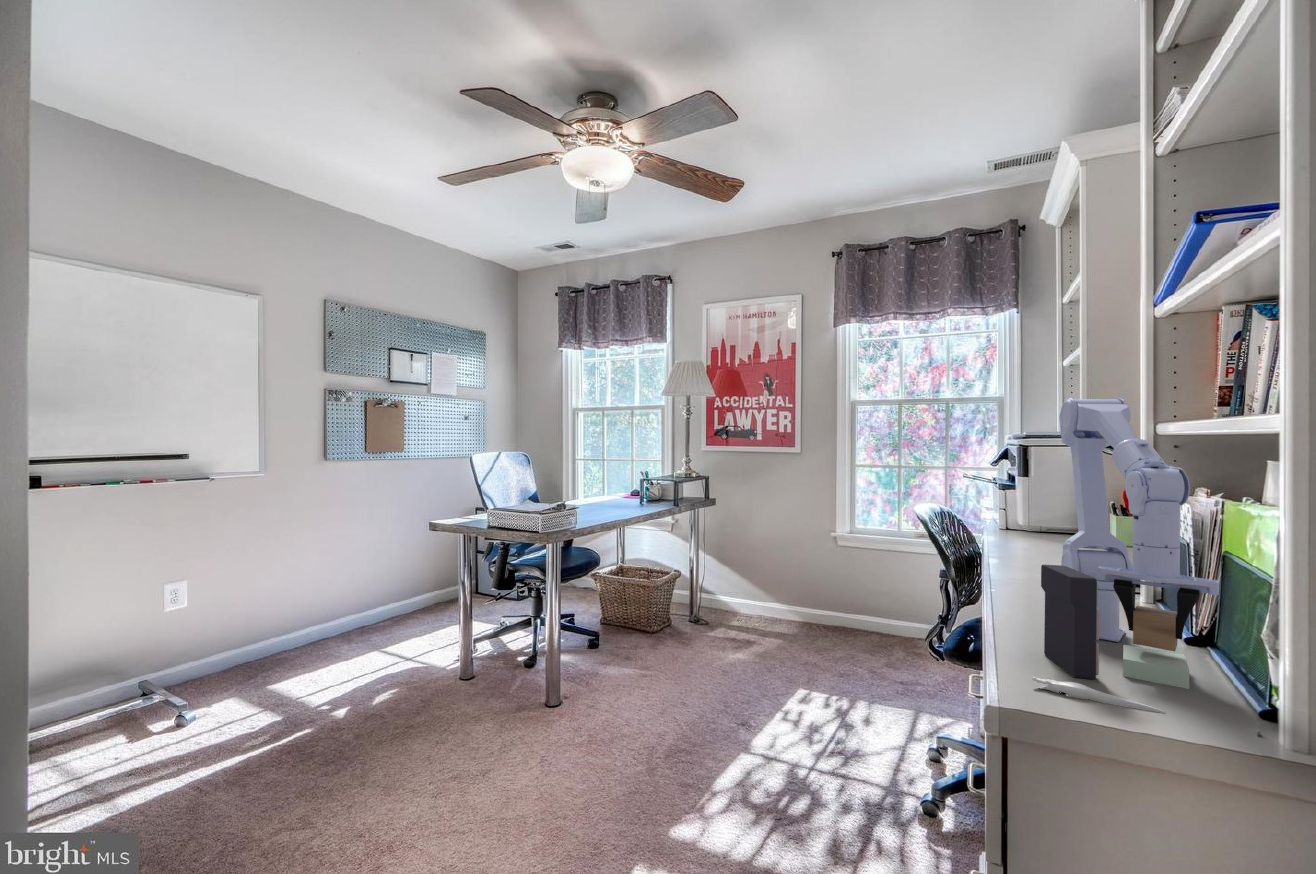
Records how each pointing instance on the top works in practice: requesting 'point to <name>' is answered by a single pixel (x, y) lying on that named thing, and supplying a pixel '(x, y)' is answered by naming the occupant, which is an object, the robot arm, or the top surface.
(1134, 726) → the top surface
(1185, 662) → the block
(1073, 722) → the top surface
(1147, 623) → the walnut cube
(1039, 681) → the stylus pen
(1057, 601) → the calculator
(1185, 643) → the top surface
